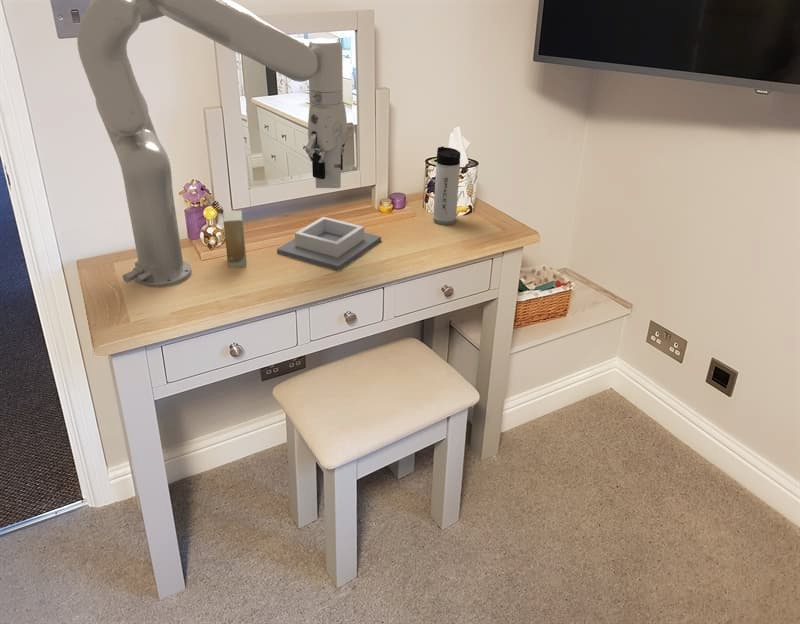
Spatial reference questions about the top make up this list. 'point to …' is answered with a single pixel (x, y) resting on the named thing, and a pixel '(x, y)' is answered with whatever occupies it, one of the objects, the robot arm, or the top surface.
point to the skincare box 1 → (234, 238)
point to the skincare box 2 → (331, 168)
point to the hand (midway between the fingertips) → (327, 172)
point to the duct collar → (329, 243)
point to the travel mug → (446, 185)
